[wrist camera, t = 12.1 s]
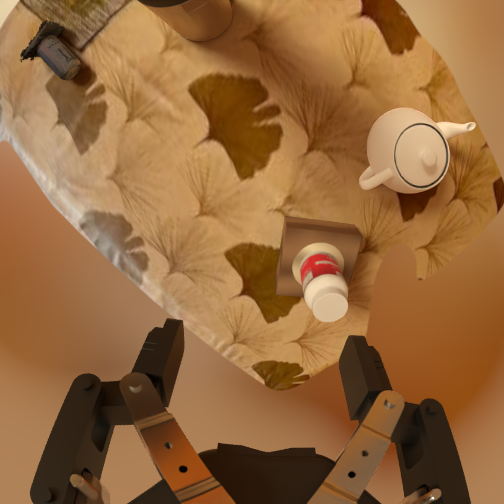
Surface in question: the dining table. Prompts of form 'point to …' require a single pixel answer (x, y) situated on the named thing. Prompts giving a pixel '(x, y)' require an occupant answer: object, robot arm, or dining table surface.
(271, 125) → the dining table surface
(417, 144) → the teapot
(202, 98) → the dining table surface
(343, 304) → the pill bottle
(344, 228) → the pedestal
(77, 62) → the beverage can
